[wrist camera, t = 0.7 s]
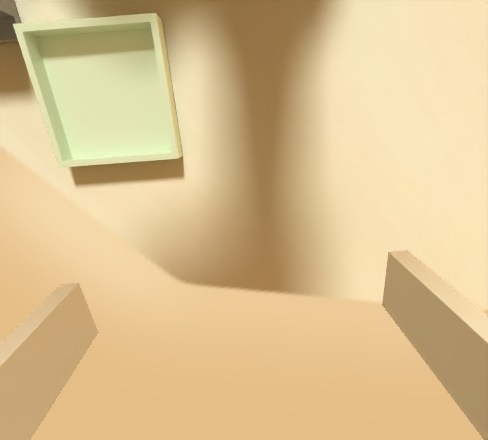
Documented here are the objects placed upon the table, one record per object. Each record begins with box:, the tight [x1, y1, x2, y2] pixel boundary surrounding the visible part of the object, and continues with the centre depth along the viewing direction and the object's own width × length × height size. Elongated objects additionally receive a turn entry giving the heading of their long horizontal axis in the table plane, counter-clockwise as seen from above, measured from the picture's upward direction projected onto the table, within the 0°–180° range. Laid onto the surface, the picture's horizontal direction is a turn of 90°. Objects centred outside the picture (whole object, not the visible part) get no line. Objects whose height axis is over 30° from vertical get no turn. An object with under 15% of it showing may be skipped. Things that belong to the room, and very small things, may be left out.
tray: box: [13, 13, 183, 168], centre depth 30 cm, size 14×14×3 cm
